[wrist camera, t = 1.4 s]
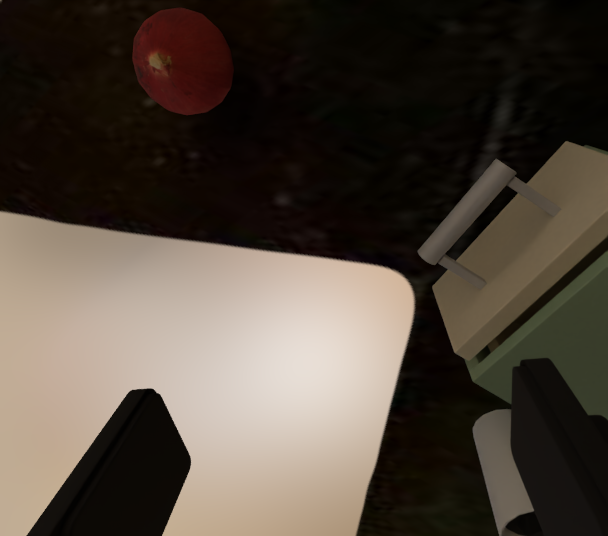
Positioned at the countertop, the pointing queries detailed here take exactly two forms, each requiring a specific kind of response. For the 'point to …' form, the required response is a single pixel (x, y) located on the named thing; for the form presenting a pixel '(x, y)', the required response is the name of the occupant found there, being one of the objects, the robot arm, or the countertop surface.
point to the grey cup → (504, 476)
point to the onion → (183, 61)
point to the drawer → (519, 246)
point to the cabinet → (560, 341)
